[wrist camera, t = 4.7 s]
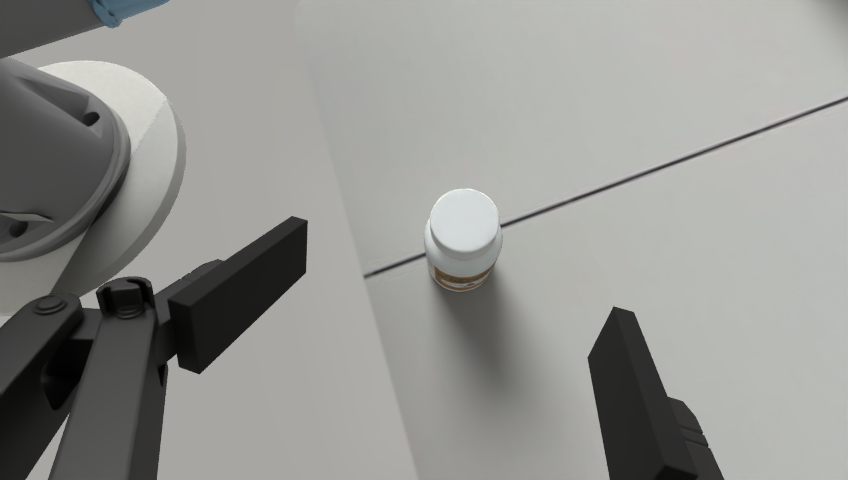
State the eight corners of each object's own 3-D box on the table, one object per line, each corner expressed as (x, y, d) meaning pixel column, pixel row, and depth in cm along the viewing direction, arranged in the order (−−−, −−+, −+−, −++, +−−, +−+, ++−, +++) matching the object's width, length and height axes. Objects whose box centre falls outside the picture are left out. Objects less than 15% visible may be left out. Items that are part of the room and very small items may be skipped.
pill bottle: (439, 301, 25) (436, 274, 18) (419, 242, 27) (409, 194, 19) (502, 280, 26) (524, 245, 18) (478, 222, 27) (490, 168, 20)
